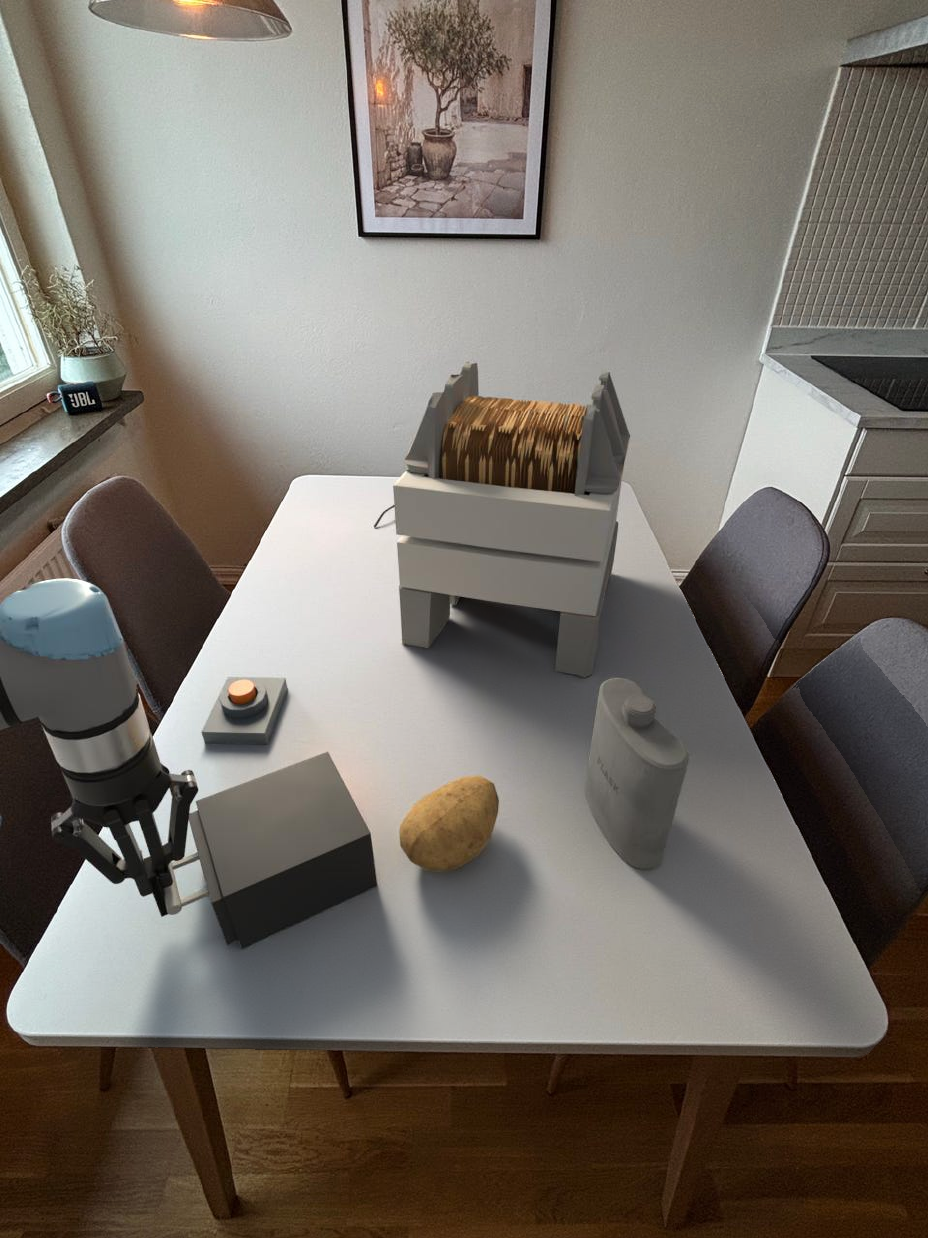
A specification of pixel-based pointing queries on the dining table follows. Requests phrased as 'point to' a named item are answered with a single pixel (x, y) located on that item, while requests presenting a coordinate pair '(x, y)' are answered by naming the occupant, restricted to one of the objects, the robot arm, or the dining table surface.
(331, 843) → the dark grey drawer cabinet
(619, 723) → the flask
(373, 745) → the dining table surface
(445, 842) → the potato
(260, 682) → the control block
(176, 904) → the drawer
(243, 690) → the button
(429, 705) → the dining table surface
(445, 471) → the transformer
